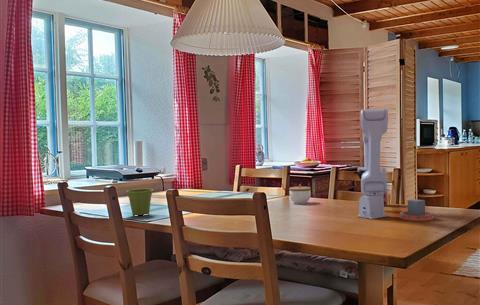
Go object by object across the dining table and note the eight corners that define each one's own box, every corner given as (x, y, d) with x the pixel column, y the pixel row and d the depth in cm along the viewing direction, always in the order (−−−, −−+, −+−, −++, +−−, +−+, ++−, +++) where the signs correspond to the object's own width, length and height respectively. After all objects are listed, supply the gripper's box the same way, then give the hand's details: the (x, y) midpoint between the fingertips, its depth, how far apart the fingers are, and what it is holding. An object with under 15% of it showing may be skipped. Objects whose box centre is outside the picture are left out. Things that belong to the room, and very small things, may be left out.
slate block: (417, 217, 177) (417, 201, 177) (407, 215, 181) (407, 200, 181) (425, 215, 180) (424, 200, 180) (415, 214, 184) (415, 199, 183)
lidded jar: (286, 202, 235) (286, 184, 235) (307, 201, 237) (306, 183, 237) (293, 205, 225) (292, 186, 225) (314, 204, 227) (313, 184, 226)
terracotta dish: (418, 222, 172) (418, 216, 172) (393, 218, 183) (393, 212, 183) (440, 218, 178) (439, 213, 178) (414, 214, 189) (414, 209, 189)
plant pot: (136, 212, 215) (135, 188, 215) (158, 213, 211) (158, 188, 211) (121, 217, 204) (120, 191, 204) (145, 217, 200) (144, 191, 200)
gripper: (390, 157, 197) (391, 189, 197) (365, 156, 209) (366, 187, 210) (378, 158, 193) (379, 191, 194) (353, 157, 206) (354, 188, 206)
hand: (371, 189), depth 202 cm, fingers open, 7 cm apart
